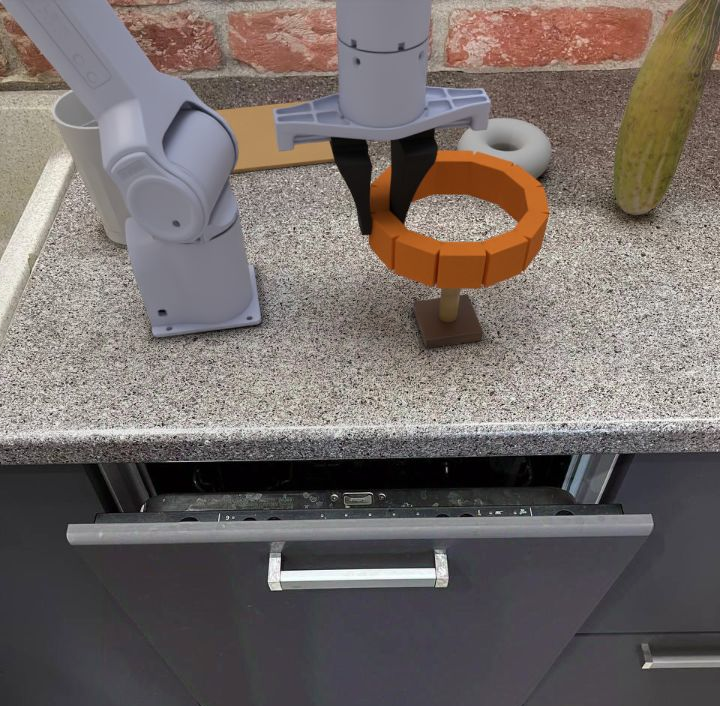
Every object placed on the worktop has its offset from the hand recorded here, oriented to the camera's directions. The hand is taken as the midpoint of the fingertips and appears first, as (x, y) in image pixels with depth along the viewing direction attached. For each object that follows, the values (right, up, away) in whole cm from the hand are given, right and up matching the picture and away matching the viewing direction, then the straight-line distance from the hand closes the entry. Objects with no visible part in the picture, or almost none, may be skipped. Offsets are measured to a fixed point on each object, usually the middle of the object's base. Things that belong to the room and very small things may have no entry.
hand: (380, 225), depth 53 cm
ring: (+6, 0, +2) cm, 6 cm away
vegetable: (+25, +8, +17) cm, 31 cm away
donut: (+14, +14, +21) cm, 29 cm away
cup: (-24, +6, +16) cm, 30 cm away
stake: (+6, -6, +7) cm, 11 cm away
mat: (-12, +20, +25) cm, 34 cm away
